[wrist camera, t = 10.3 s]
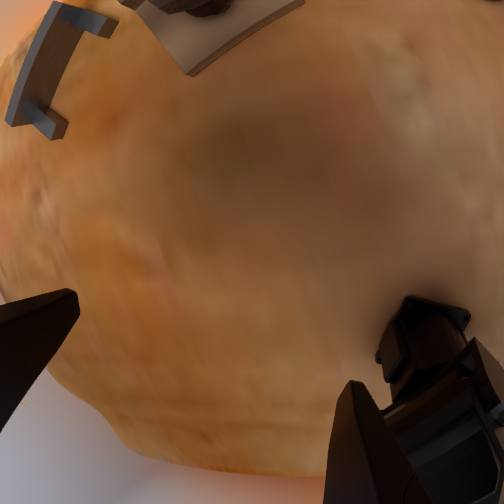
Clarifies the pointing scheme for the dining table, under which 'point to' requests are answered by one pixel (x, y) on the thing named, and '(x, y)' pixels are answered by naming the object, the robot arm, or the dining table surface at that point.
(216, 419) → the dining table surface
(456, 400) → the robot arm
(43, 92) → the socket bracket
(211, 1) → the bolt
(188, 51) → the block
